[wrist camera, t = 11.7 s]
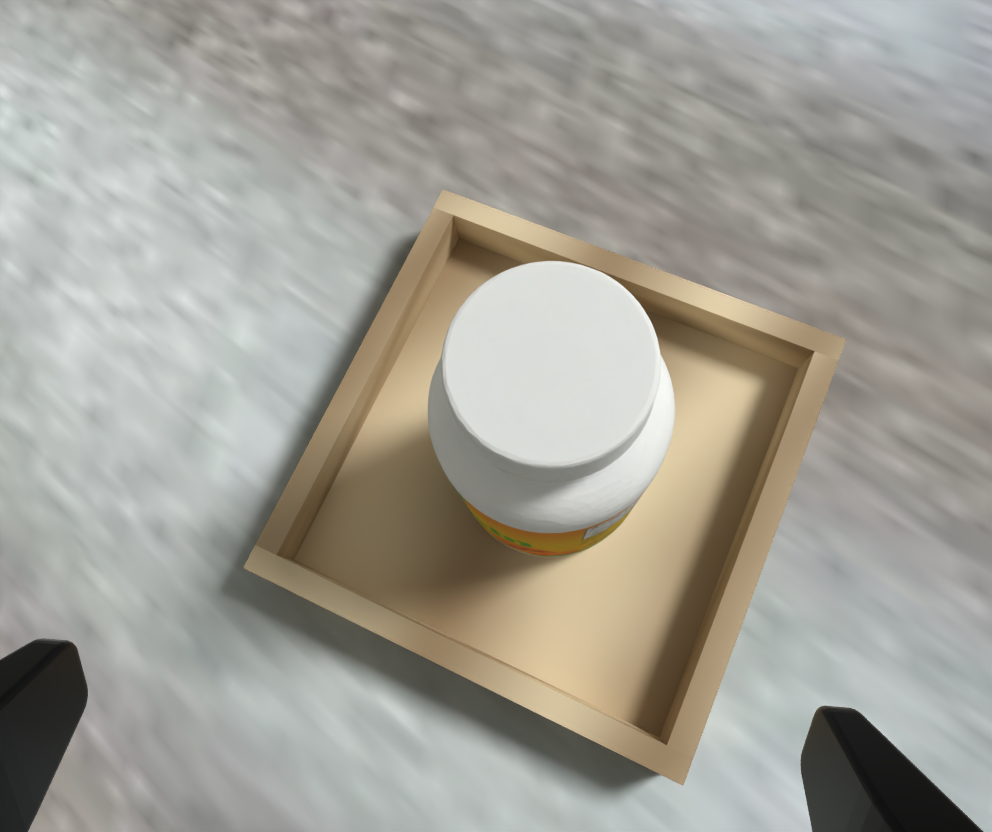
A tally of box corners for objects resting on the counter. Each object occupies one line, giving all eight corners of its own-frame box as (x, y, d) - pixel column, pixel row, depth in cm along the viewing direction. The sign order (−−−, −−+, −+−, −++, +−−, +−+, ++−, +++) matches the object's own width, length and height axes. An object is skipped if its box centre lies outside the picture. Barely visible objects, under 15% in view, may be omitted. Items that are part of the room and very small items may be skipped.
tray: (821, 363, 24) (846, 339, 22) (670, 770, 21) (683, 785, 19) (451, 223, 26) (442, 189, 24) (269, 573, 23) (242, 567, 21)
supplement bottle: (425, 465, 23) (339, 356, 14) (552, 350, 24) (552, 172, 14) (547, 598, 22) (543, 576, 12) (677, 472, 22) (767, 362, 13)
